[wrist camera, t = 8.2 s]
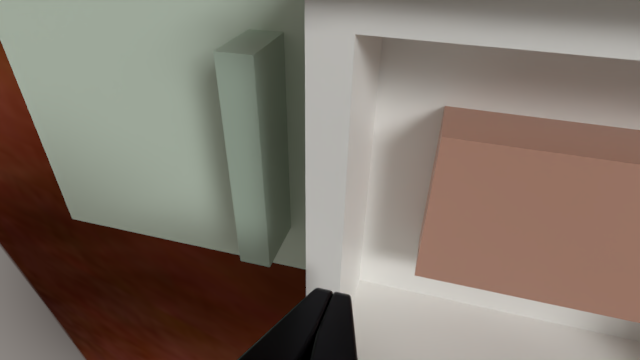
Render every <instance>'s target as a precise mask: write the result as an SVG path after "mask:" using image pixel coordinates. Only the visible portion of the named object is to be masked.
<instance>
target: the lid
mask: <svg viewBox="0 0 640 360" xmlns="http://www.w3.org/2000/svg"><path fill="white" fill-rule="evenodd" d="M0 40H1V43H2V45H3V48H4V50H5V53H6V55H7V58H8V60H9V63H10V65H11V68H12V70H13V73H14V75H15V78H16V80H17V82H18V85H19V87H20V90H21V92H22V95H23V97H24V100H25V102H26V105H27V107H28V110H29V112H30V115H31V117H32V120H33V122H34V125H35V127H36V130H37V132H38V135H39V137H40V140H41V142H42V145H43V147H44V150H45V152H46V155H47V157H48V160H49V162H50V165H51V167H52V170H53V172H54V175H55V177H56V180H57V182H58V185H59V187H60V190H61V192H62V195H63V197H64V200H65V202H66V205H67V207H68V210H69V212H70V215H71V217H72V219H75V220H80V221H84V222H89V223H93V224H98V225H103V226H107V227H112V228H116V229H121V230H126V231H130V232H135V233H139V234H144V235H149V236H153V237H158V238H162V239H167V240H172V241H176V242H181V243H185V244H190V245H195V246H199V247H204V248H208V249H213V250H218V251H222V252H227V253H231V254H236V255H240V261H244V262H248V263H253V264H257V265H262V266H266V267H270V266H271V264H272V262H273V263H277V264H282V265H286V266H291V267H296V268H300V269H305V270H306V192H305V0H0Z"/></svg>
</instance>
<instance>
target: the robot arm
mask: <svg viewBox="0 0 640 360" xmlns="http://www.w3.org/2000/svg"><path fill="white" fill-rule="evenodd" d="M238 360H358V358H357V348H356V338H355V329H354V319H353V310H352V300H351V296H350V295H349V294H345V293H340V292H334V293H333V292H332V291H331V290H327V289H323V288H315V289H314V290H313V291H312V292H310V293H309V294H308V295H307V296H306V297H305V298H304V299H303V300H302V301H301V302H300V303H298V304H297V305H296V306H295V307H294V308H293V309H292V310H291V311H290V312H289V313H288V314H286V315H285V316H284V317H283V318H282V319H281V320H280V321H279V322H278V323H277V324H276V325H275V326H273V327H272V328H271V329H270V330H269V331H268V332H267V333H266V334H265V335H264V336H263V337H261V338H260V339H259V340H258V341H257V342H256V343H255V344H254V345H253V346H252V347H251V348H250V349H248V350H247V351H246V352H245V353H244V354H243V355H242V356H241V357H240V358H239V359H238Z"/></svg>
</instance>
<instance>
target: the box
mask: <svg viewBox="0 0 640 360" xmlns="http://www.w3.org/2000/svg"><path fill="white" fill-rule="evenodd" d="M305 192H306V296H307V295H308V294H309V293H310V292H312V291H313V290H314V289H315V288H323V289H327V290H331V291H332V292H333V293H334V292H340V293H345V294H349V295H350V296H351V300H352V310H353V319H354V329H355V338H356V348H357V358H358V360H640V0H305Z"/></svg>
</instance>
